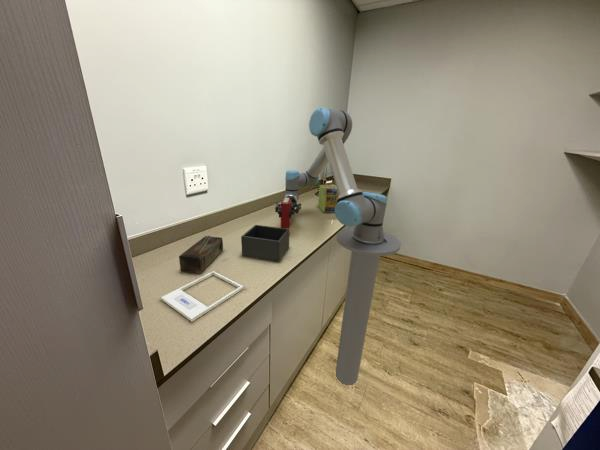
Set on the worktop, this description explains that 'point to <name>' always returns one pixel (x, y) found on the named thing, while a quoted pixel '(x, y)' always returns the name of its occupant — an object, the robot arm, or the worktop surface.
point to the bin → (265, 243)
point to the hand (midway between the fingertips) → (284, 215)
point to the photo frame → (192, 306)
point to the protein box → (328, 198)
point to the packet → (285, 213)
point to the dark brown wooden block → (201, 254)
